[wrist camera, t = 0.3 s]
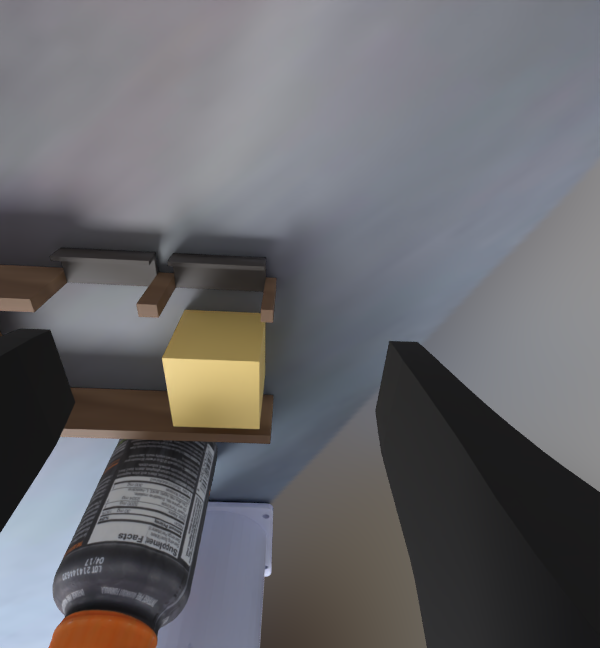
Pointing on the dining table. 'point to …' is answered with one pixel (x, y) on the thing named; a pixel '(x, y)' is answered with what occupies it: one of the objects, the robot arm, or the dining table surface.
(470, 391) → the robot arm
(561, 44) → the dining table surface
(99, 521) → the pill bottle
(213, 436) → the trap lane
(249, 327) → the ochre block
